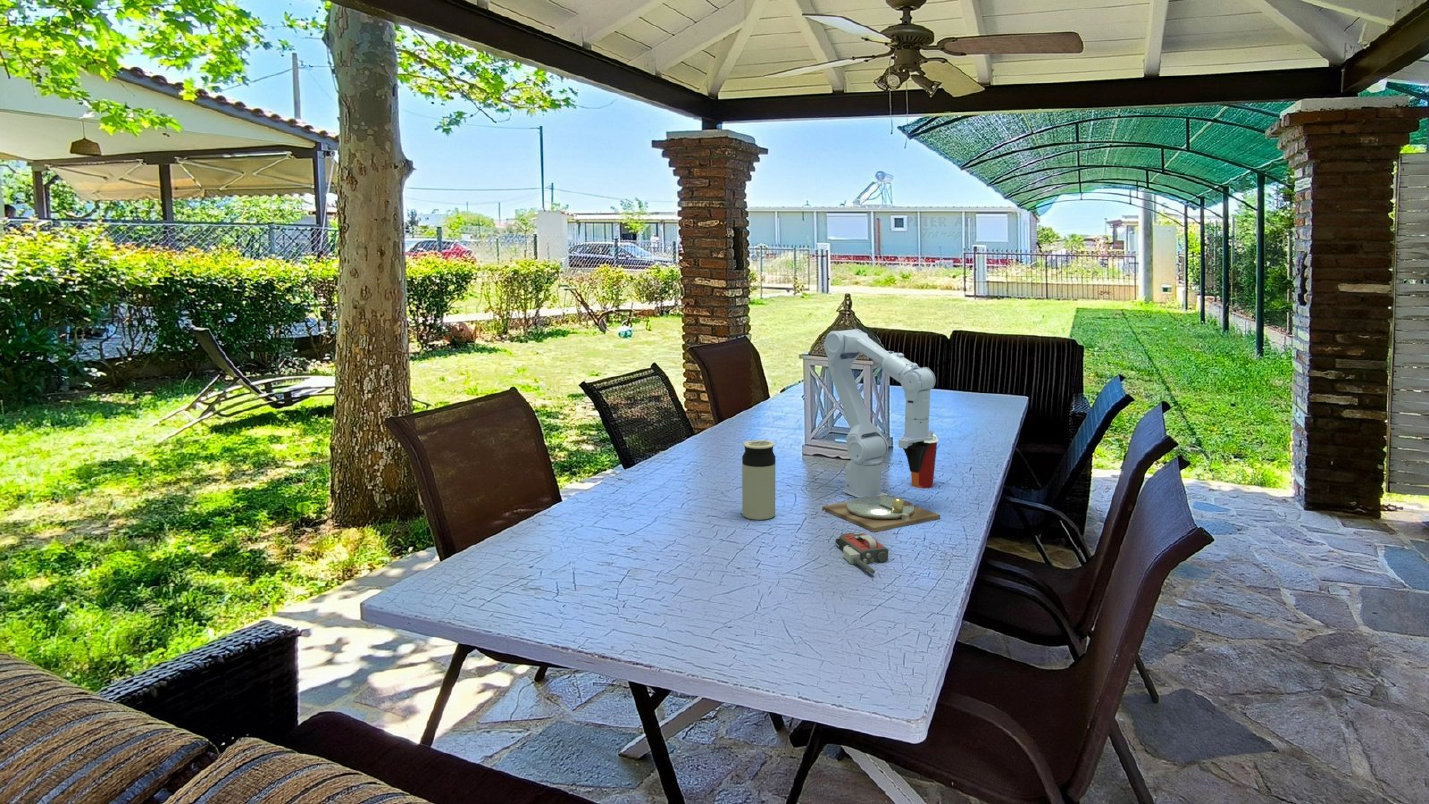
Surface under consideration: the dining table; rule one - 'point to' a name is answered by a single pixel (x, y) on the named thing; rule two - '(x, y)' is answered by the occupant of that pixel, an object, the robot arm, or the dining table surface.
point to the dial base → (881, 524)
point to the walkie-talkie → (862, 549)
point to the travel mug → (758, 480)
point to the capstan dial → (880, 507)
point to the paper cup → (926, 467)
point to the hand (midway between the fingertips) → (915, 471)
